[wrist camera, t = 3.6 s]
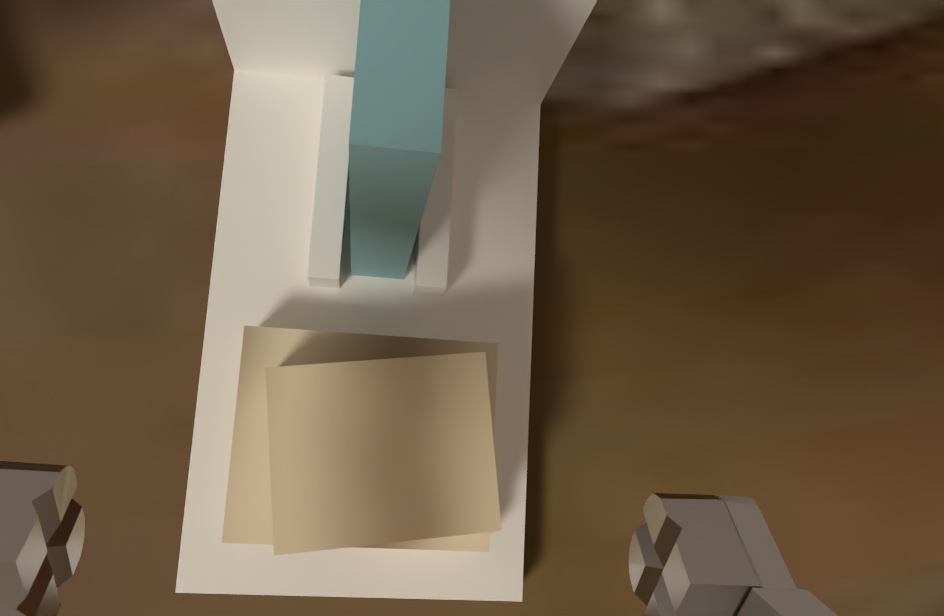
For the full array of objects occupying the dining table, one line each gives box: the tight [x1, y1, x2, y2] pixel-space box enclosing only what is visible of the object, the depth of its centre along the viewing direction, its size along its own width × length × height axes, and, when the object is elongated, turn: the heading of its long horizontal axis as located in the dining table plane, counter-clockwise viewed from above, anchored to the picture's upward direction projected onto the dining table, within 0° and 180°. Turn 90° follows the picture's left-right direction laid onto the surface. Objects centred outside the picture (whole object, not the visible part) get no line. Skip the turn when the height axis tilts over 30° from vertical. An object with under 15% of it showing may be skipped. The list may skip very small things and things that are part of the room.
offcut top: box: [265, 352, 502, 556], centre depth 23 cm, size 6×5×2 cm
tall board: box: [349, 0, 450, 279], centre depth 22 cm, size 2×6×12 cm, turn 177°
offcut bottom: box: [222, 326, 498, 552], centre depth 25 cm, size 8×6×2 cm
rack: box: [175, 0, 597, 601], centre depth 21 cm, size 11×19×15 cm, turn 177°
